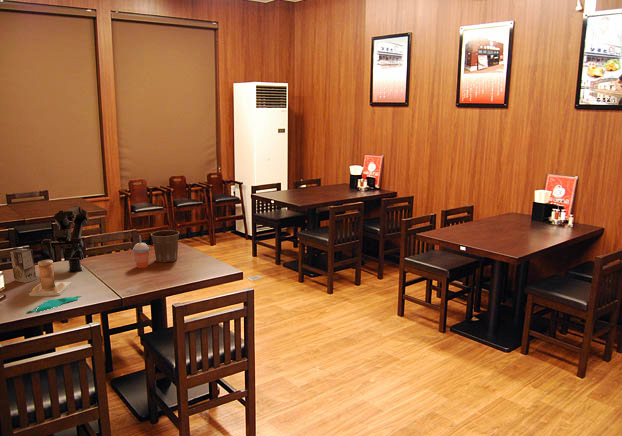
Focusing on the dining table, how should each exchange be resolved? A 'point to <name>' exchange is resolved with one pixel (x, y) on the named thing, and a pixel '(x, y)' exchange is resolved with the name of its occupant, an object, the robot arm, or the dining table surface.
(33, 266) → the coffee box
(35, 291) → the cream square tray
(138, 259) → the cup with straw
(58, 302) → the cloth
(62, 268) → the dining table surface
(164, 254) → the plant pot
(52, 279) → the bobbin
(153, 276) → the dining table surface
